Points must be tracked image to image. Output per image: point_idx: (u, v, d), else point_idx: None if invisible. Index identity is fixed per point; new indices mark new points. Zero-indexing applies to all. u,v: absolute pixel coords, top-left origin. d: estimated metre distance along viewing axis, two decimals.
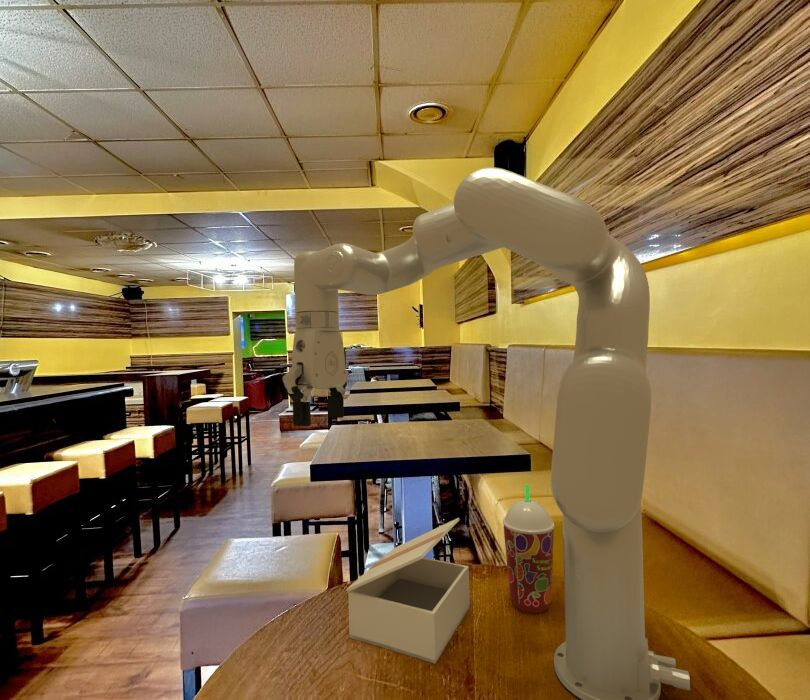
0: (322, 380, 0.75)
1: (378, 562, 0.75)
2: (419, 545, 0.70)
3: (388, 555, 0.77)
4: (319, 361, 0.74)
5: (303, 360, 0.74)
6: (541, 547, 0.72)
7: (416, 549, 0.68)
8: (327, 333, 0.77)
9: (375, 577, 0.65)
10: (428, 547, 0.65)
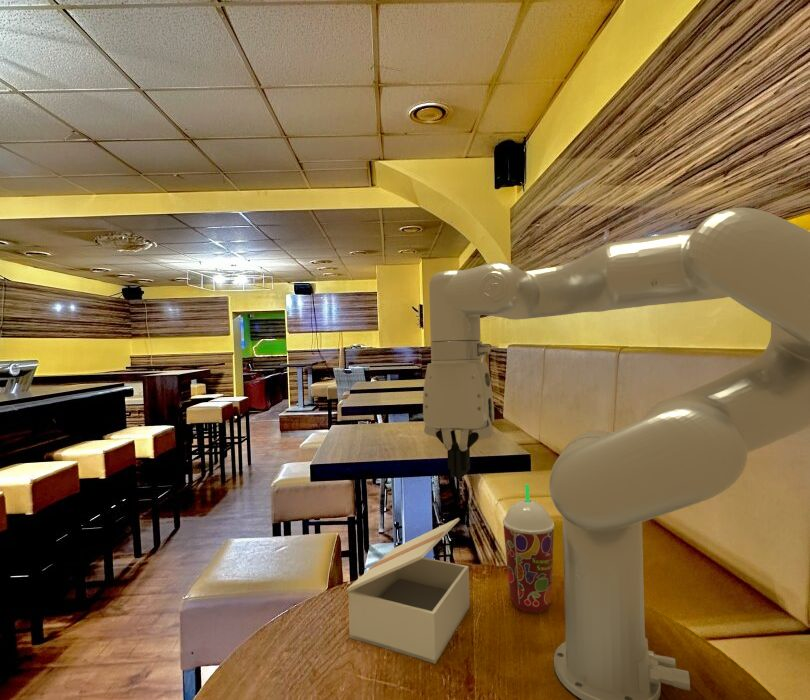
0: None
1: (378, 562, 0.75)
2: (419, 545, 0.70)
3: (388, 555, 0.77)
4: None
5: (490, 404, 0.66)
6: (541, 547, 0.72)
7: (416, 549, 0.68)
8: None
9: (375, 577, 0.65)
10: (428, 547, 0.65)
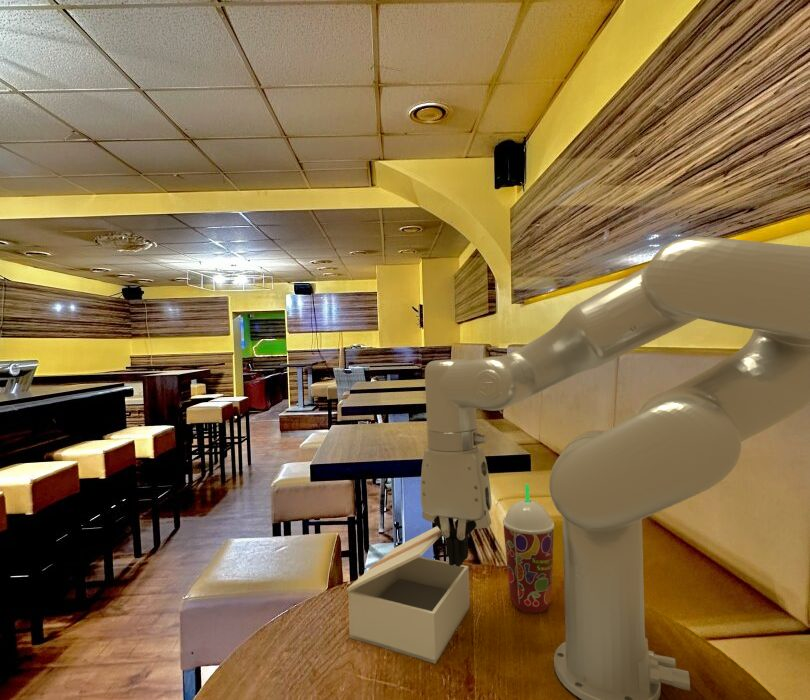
0: None
1: (378, 562, 0.75)
2: (418, 543, 0.70)
3: (388, 555, 0.77)
4: None
5: (487, 492, 0.66)
6: (541, 547, 0.72)
7: (415, 547, 0.68)
8: None
9: (375, 576, 0.65)
10: (427, 545, 0.65)
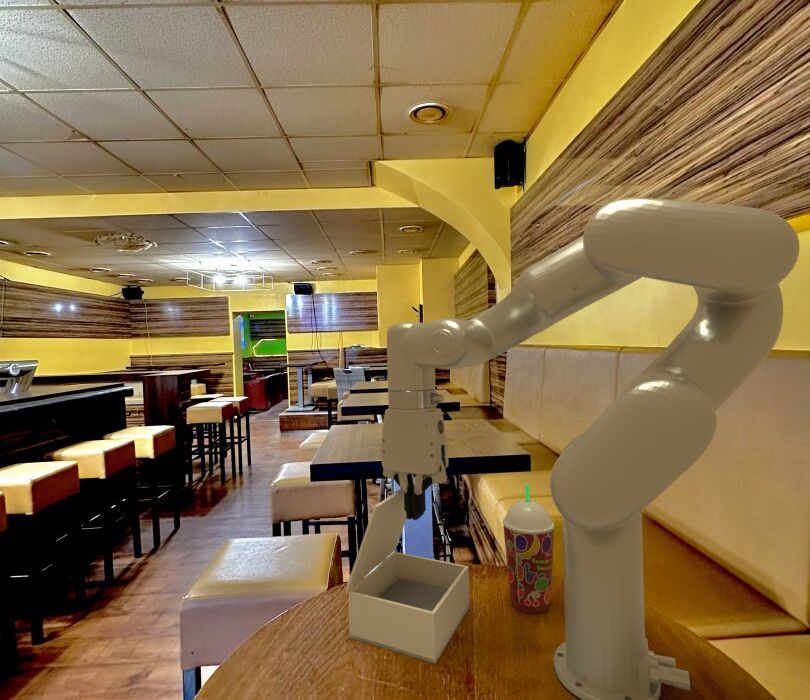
0: None
1: None
2: None
3: None
4: None
5: (443, 450, 0.70)
6: (541, 547, 0.72)
7: None
8: None
9: (357, 557, 0.67)
10: None
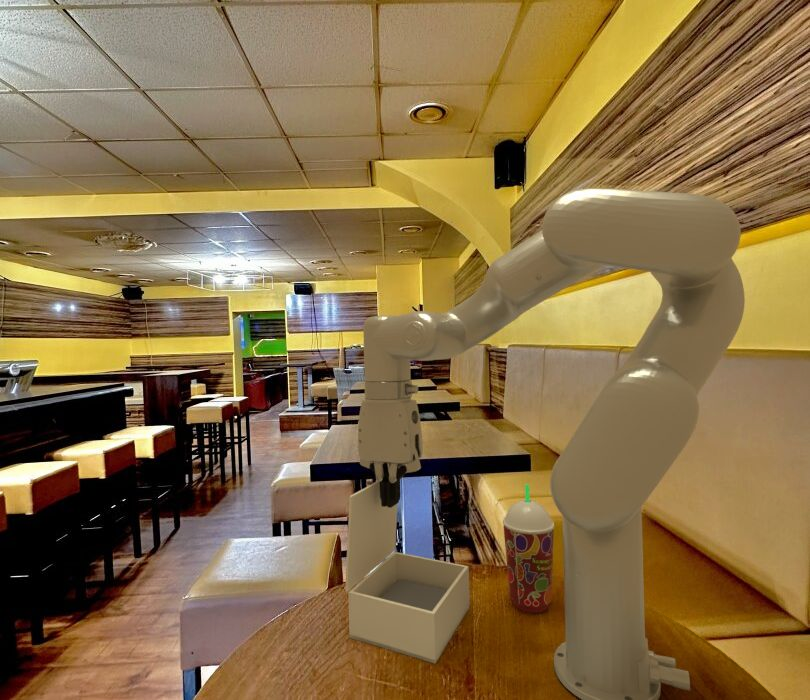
0: None
1: None
2: None
3: None
4: None
5: (417, 439, 0.71)
6: (541, 547, 0.72)
7: None
8: None
9: (348, 553, 0.67)
10: None
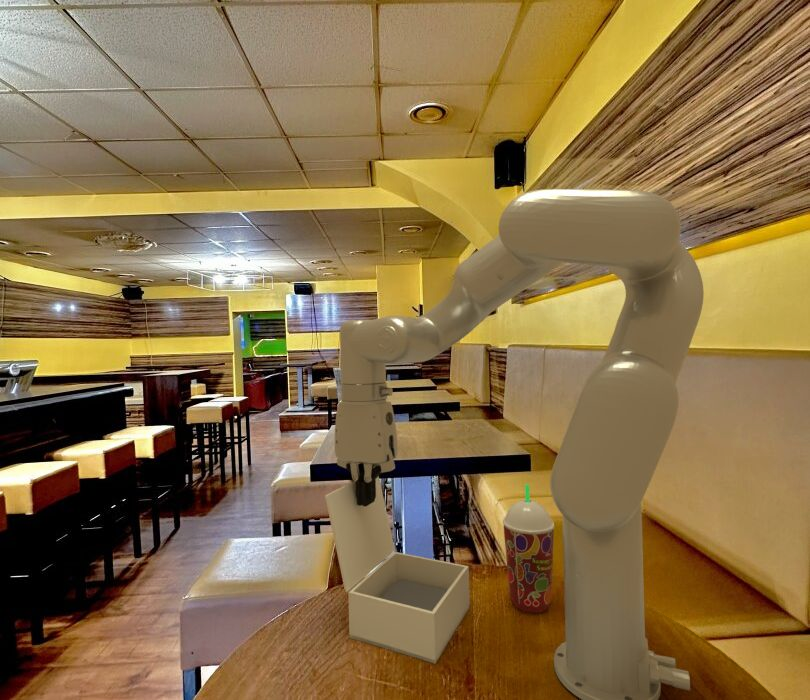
0: None
1: None
2: None
3: None
4: None
5: (392, 440, 0.74)
6: (541, 547, 0.72)
7: None
8: None
9: (337, 552, 0.68)
10: None
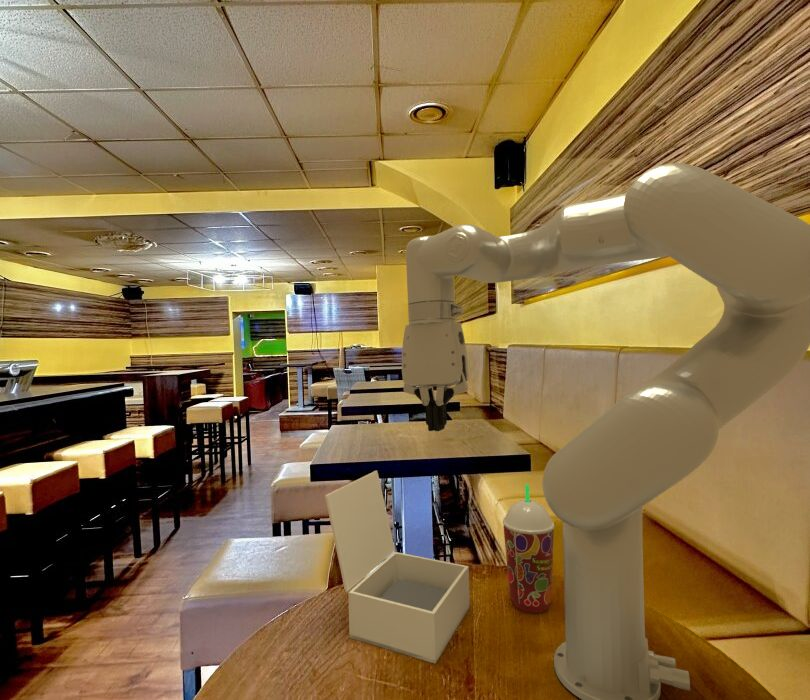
0: None
1: None
2: None
3: None
4: None
5: (464, 361, 0.70)
6: (541, 547, 0.72)
7: None
8: None
9: (337, 552, 0.68)
10: None
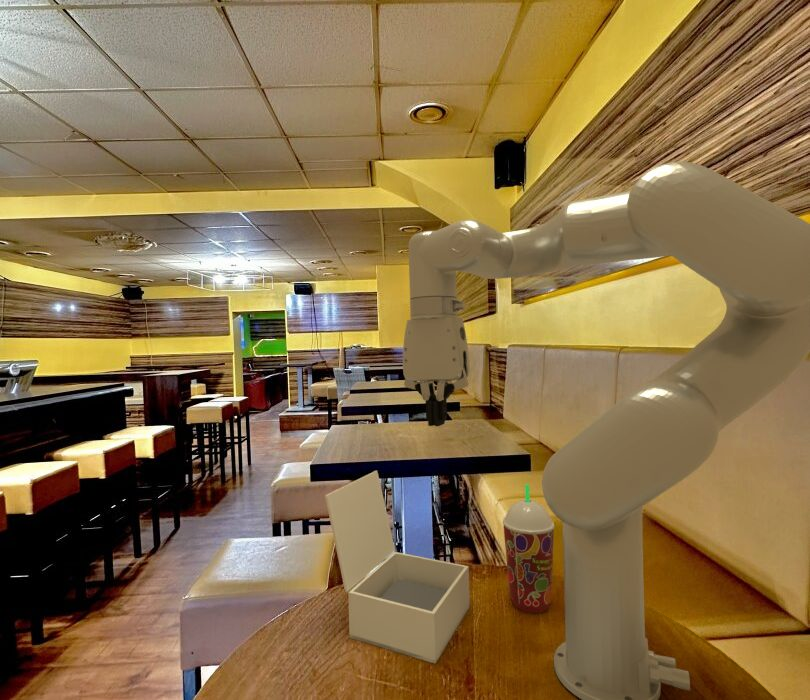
0: None
1: None
2: None
3: None
4: None
5: (465, 357, 0.70)
6: (541, 547, 0.72)
7: None
8: None
9: (337, 552, 0.68)
10: None
